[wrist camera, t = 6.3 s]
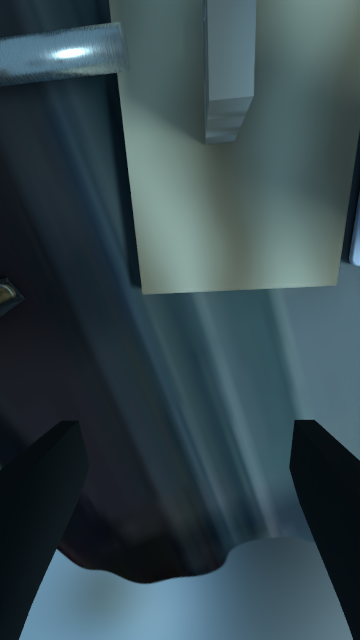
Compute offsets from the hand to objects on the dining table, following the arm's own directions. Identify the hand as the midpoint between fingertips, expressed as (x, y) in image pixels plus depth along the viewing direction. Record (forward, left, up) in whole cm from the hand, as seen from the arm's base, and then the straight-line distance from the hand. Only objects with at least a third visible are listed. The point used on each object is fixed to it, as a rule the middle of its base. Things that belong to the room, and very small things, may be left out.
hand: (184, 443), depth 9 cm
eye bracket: (-2, -14, -10) cm, 18 cm away
